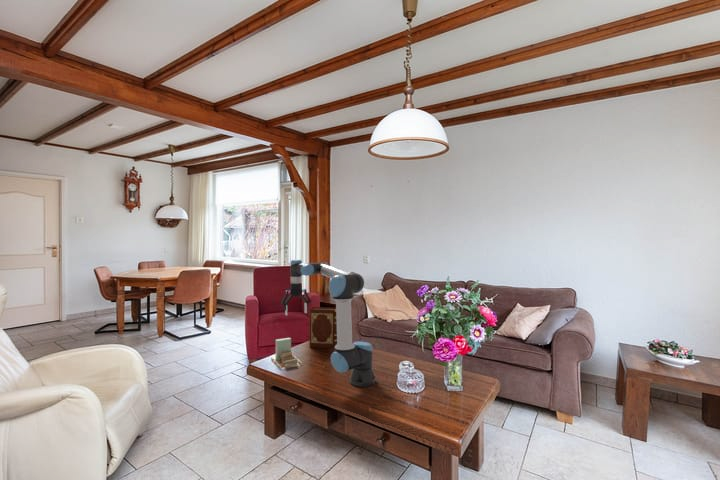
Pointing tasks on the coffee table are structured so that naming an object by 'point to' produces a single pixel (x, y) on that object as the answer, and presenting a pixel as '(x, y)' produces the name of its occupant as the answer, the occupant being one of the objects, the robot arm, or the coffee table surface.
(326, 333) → the decorative book
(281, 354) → the offcut oak
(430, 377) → the coffee table surface
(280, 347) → the sage board
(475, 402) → the coffee table surface
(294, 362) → the rack
